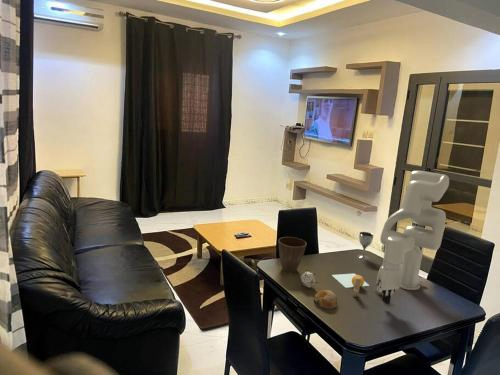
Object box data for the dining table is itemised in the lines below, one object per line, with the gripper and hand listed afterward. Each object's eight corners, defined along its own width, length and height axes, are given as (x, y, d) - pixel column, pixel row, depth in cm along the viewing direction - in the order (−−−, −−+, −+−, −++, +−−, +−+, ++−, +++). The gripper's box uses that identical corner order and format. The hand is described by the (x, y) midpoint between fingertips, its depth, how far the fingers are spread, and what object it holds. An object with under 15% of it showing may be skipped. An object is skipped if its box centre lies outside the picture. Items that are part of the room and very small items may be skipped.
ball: (365, 288, 185) (358, 281, 190) (367, 278, 182) (360, 271, 188) (355, 290, 183) (348, 283, 188) (357, 280, 180) (350, 273, 186)
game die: (305, 295, 180) (300, 284, 174) (299, 282, 187) (294, 271, 181) (322, 288, 180) (317, 276, 174) (315, 275, 187) (310, 263, 181)
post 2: (379, 292, 182) (382, 275, 180) (382, 294, 179) (385, 277, 177) (374, 292, 181) (377, 275, 179) (378, 295, 179) (380, 278, 177)
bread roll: (331, 317, 163) (341, 304, 160) (311, 305, 163) (321, 291, 161) (331, 306, 172) (340, 293, 170) (312, 294, 173) (321, 281, 171)
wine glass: (361, 253, 231) (364, 231, 227) (372, 258, 225) (376, 234, 222) (353, 256, 226) (357, 233, 222) (364, 261, 220) (368, 237, 216)
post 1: (356, 294, 178) (358, 277, 176) (359, 297, 175) (361, 279, 173) (351, 294, 177) (354, 277, 175) (354, 297, 175) (357, 279, 173)
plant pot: (286, 261, 210) (289, 234, 207) (308, 270, 201) (311, 242, 197) (270, 268, 199) (272, 240, 195) (293, 278, 189) (296, 249, 186)
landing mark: (354, 273, 201) (354, 273, 201) (369, 285, 188) (369, 285, 188) (331, 275, 196) (331, 275, 196) (345, 287, 184) (345, 287, 183)
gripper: (400, 259, 168) (394, 296, 172) (372, 262, 163) (366, 299, 167) (411, 267, 161) (405, 304, 165) (382, 269, 156) (376, 308, 160)
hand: (385, 302), depth 166 cm, fingers closed
